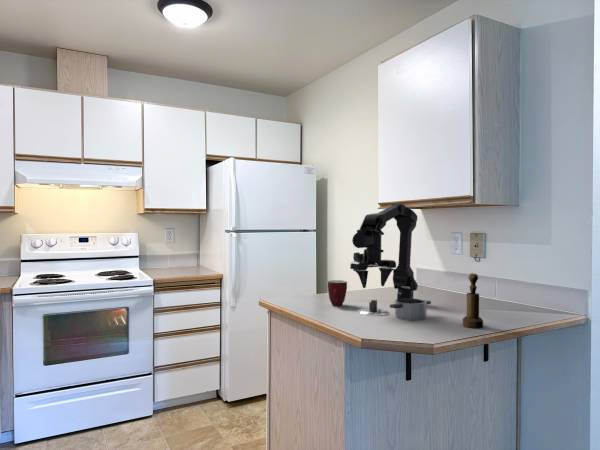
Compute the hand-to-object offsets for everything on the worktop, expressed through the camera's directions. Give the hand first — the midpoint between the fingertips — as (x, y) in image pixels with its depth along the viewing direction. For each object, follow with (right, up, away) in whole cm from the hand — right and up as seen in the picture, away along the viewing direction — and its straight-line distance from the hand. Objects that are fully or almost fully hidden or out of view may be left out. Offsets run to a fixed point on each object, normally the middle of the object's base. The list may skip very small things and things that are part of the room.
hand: (373, 287), depth 167 cm
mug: (-13, -10, +12) cm, 20 cm away
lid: (0, -10, 0) cm, 10 cm away
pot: (+13, -10, -8) cm, 18 cm away
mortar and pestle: (+30, -11, -20) cm, 38 cm away
